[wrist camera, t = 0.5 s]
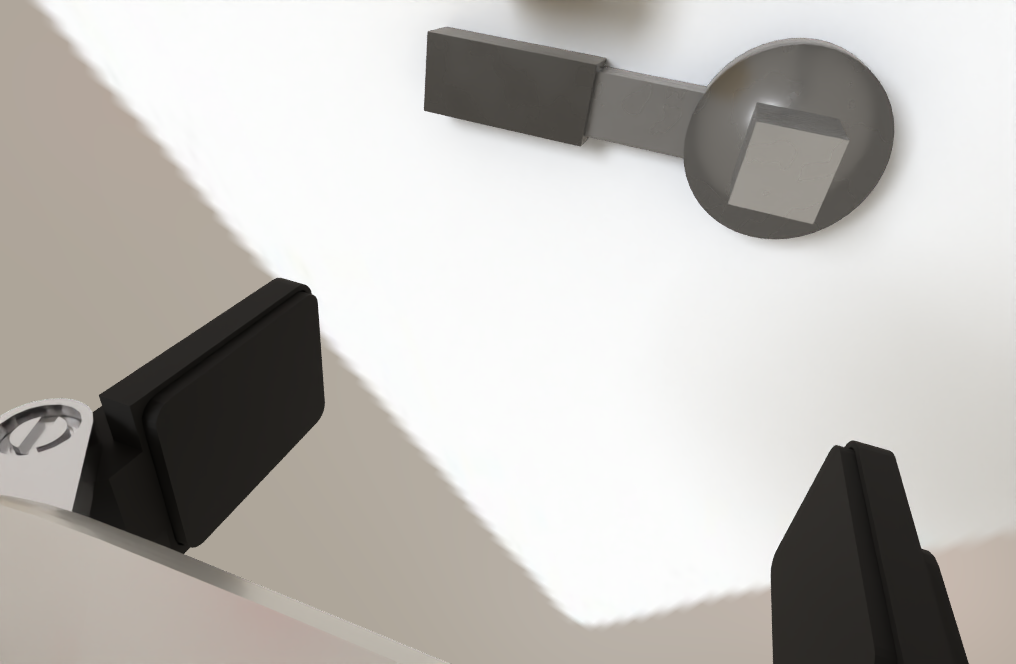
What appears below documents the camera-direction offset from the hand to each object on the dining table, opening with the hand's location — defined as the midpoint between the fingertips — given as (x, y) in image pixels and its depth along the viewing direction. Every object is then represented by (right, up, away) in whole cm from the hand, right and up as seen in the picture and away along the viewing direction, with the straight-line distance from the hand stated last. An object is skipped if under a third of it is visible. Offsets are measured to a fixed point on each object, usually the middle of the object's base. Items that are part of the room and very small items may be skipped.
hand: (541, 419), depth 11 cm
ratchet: (+7, +13, +21) cm, 26 cm away
